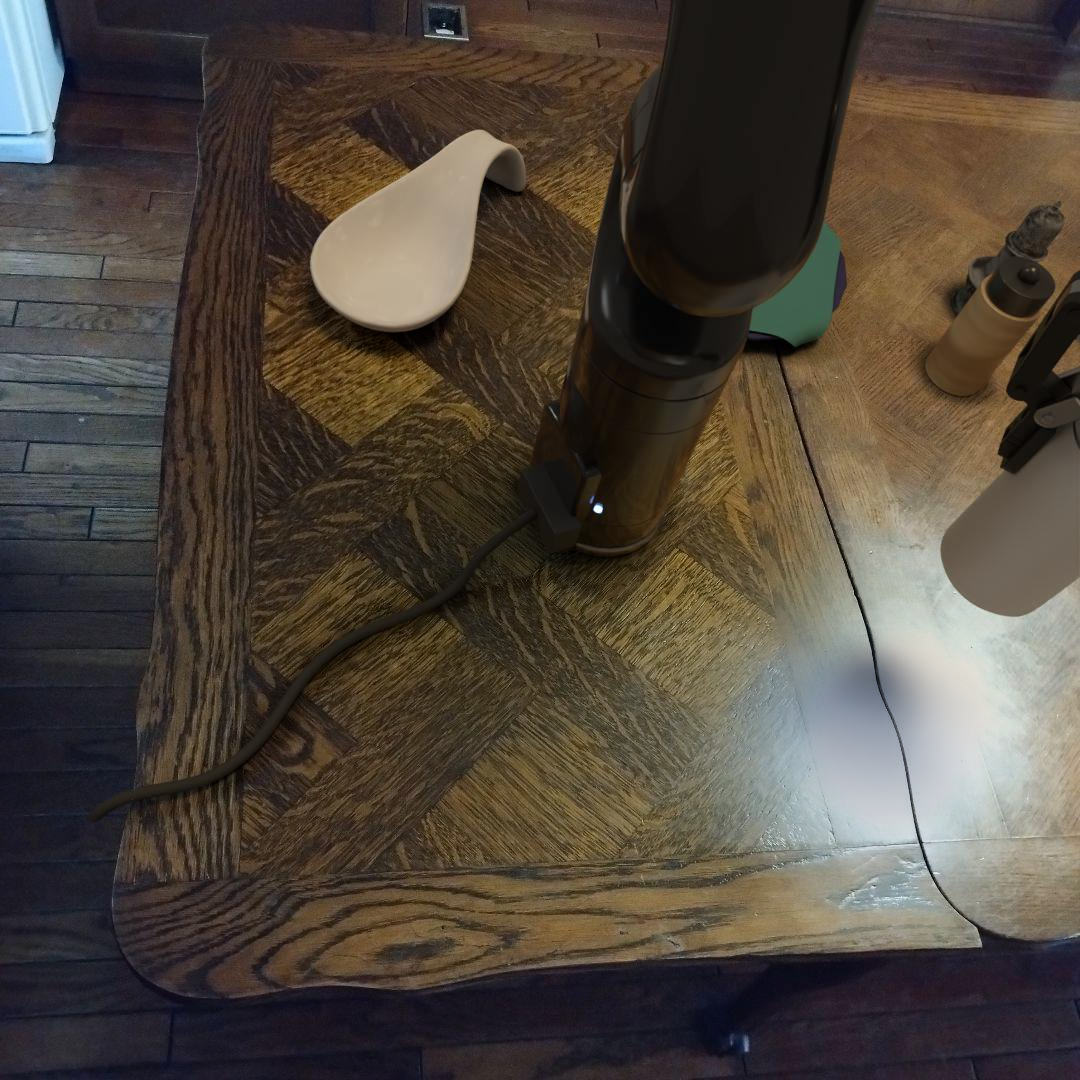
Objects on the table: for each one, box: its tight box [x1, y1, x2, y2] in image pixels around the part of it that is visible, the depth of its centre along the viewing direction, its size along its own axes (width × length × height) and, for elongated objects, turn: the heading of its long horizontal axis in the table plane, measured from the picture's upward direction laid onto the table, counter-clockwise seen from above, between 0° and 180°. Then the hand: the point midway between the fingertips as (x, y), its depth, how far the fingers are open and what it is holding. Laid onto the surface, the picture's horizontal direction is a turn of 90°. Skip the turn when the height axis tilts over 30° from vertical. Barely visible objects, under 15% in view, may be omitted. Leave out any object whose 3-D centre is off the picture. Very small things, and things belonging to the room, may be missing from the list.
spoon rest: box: [309, 129, 527, 333], centre depth 78 cm, size 24×12×7 cm, turn 152°
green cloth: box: [746, 221, 848, 348], centre depth 87 cm, size 20×30×2 cm, turn 165°
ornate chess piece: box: [950, 200, 1066, 317], centre depth 82 cm, size 6×6×12 cm
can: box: [939, 420, 1080, 618], centre depth 51 cm, size 6×6×12 cm
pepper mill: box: [924, 257, 1056, 397], centre depth 78 cm, size 5×5×12 cm
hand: (1076, 493), depth 49 cm, fingers closed on can, 6 cm apart
